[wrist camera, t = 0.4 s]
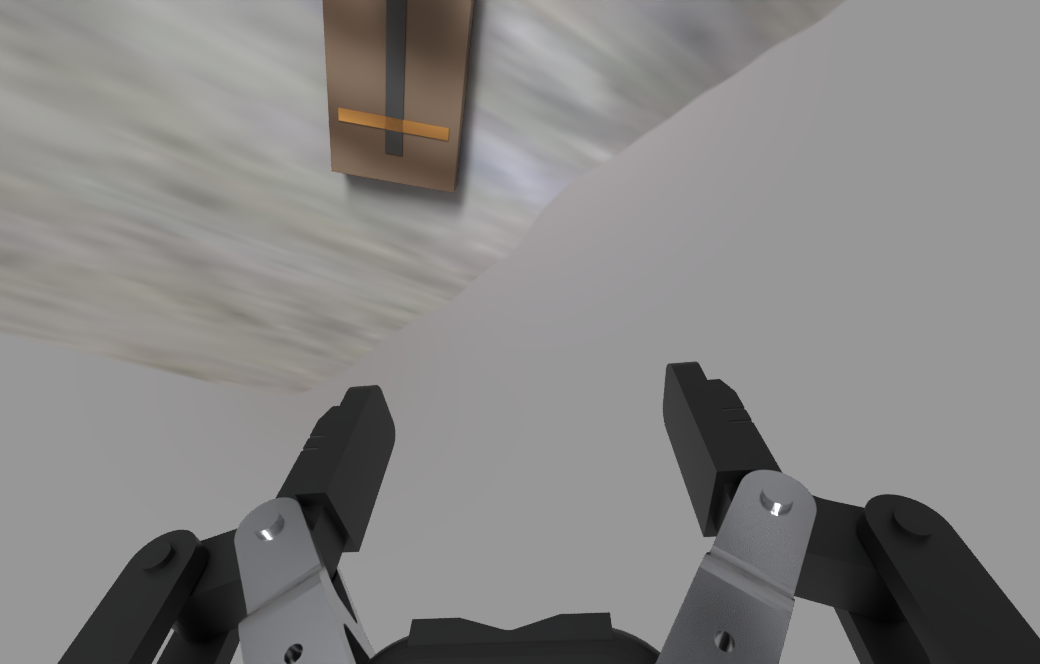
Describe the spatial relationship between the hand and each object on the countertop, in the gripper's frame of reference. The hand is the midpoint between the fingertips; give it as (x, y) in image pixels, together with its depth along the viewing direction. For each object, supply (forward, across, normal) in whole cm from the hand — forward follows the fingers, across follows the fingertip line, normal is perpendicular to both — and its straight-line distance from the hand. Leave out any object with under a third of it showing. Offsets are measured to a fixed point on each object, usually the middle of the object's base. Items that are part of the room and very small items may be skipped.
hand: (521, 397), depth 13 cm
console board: (+26, +7, -10) cm, 29 cm away
